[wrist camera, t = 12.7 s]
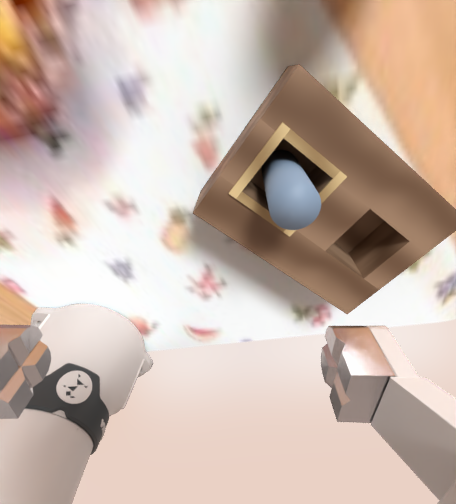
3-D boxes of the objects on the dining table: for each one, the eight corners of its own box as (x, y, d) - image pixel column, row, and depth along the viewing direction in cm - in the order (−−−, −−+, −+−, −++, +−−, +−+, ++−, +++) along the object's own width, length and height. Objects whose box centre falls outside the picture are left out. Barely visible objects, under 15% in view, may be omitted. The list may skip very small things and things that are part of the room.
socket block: (332, 281, 37) (347, 315, 32) (200, 190, 32) (192, 214, 26) (430, 196, 31) (469, 222, 26) (287, 66, 26) (299, 64, 20)
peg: (283, 192, 30) (299, 238, 22) (254, 174, 30) (259, 214, 21) (305, 162, 29) (332, 199, 20) (275, 142, 28) (289, 171, 19)
